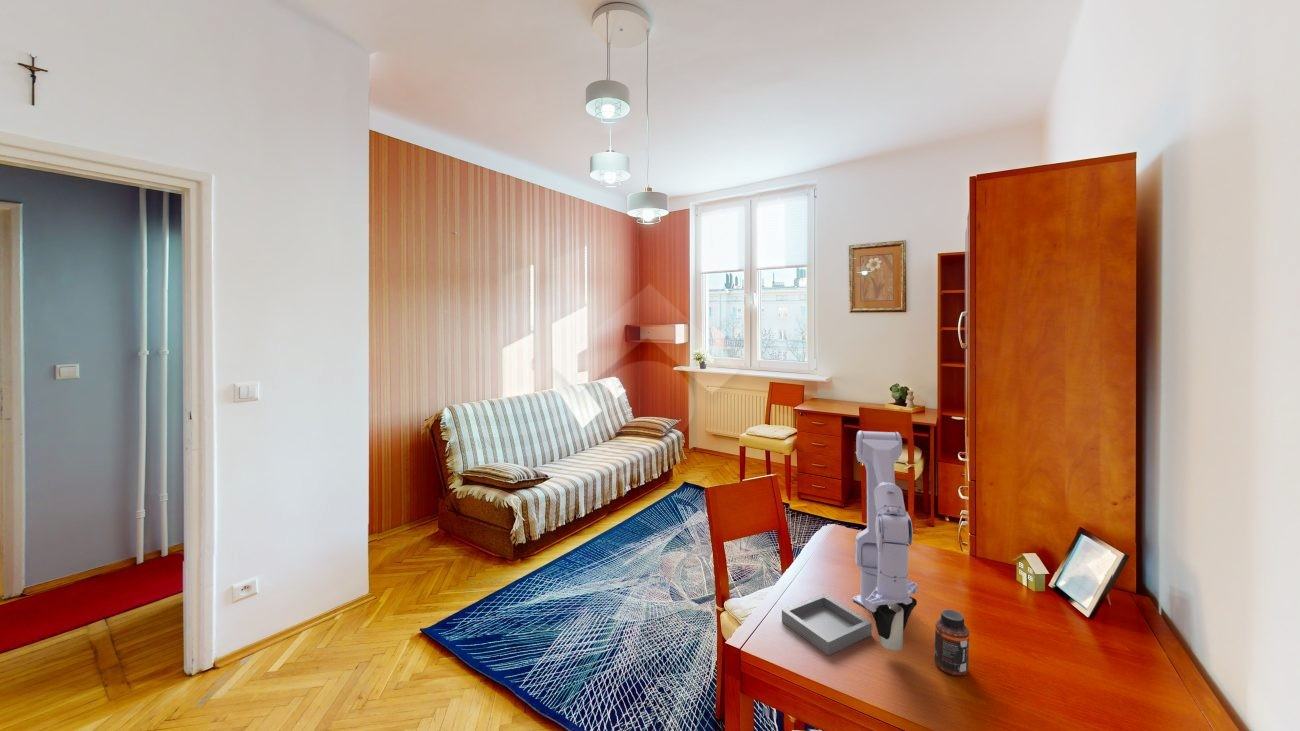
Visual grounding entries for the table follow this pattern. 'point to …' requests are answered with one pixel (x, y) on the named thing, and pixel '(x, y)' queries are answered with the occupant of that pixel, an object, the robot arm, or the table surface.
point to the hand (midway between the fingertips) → (891, 632)
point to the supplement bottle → (951, 643)
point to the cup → (895, 630)
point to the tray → (826, 623)
